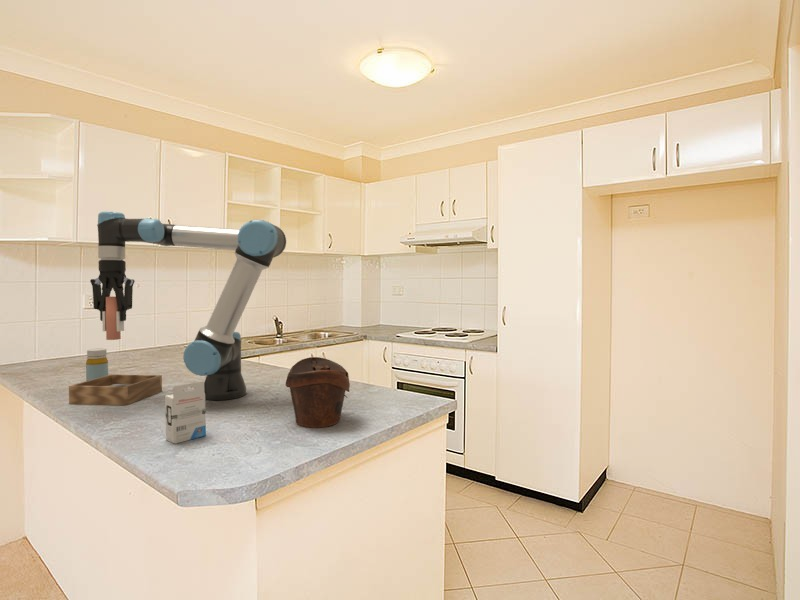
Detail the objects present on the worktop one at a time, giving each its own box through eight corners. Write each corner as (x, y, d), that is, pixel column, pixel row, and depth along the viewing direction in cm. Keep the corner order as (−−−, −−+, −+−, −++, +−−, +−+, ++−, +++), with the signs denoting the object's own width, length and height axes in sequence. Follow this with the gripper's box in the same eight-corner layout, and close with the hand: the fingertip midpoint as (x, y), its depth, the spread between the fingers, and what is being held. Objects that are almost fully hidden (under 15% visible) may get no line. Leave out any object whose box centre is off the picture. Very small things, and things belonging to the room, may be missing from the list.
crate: (162, 391, 172) (161, 375, 171) (126, 405, 152) (125, 387, 151) (111, 390, 173) (110, 374, 173) (69, 403, 153) (68, 386, 153)
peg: (123, 338, 153) (122, 296, 153) (115, 339, 149) (114, 296, 149) (111, 338, 153) (110, 296, 153) (103, 339, 149) (102, 296, 149)
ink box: (197, 432, 125) (196, 378, 124) (206, 435, 122) (205, 380, 121) (165, 440, 118) (164, 383, 118) (173, 444, 115) (172, 386, 114)
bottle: (97, 391, 171) (96, 351, 171) (81, 390, 173) (81, 350, 172) (112, 387, 178) (112, 348, 178) (97, 386, 180) (96, 348, 179)
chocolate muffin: (324, 436, 121) (324, 368, 121) (271, 424, 132) (271, 361, 132) (364, 420, 136) (364, 360, 136) (314, 410, 147) (314, 354, 147)
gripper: (144, 260, 154) (145, 330, 155) (94, 260, 154) (96, 329, 155) (130, 259, 146) (131, 332, 147) (78, 259, 147) (79, 332, 148)
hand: (113, 330), depth 151 cm, fingers closed on peg, 4 cm apart
